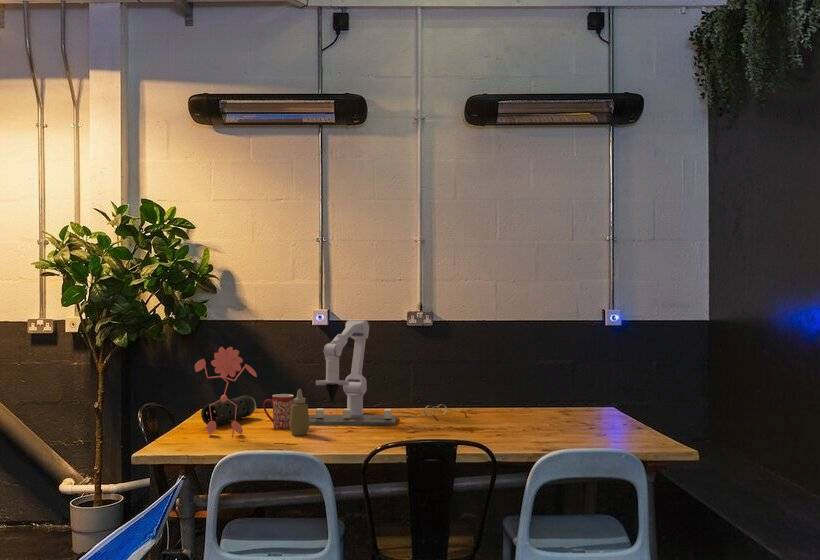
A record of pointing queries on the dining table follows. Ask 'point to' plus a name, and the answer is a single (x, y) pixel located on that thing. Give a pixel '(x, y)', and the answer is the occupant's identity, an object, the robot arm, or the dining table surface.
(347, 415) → the block
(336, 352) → the robot arm
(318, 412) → the beige block
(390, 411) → the block
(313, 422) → the breaker panel
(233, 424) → the figurine
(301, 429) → the squeeze bottle
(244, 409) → the muzzle brake
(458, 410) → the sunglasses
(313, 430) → the dining table surface
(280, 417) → the mug
